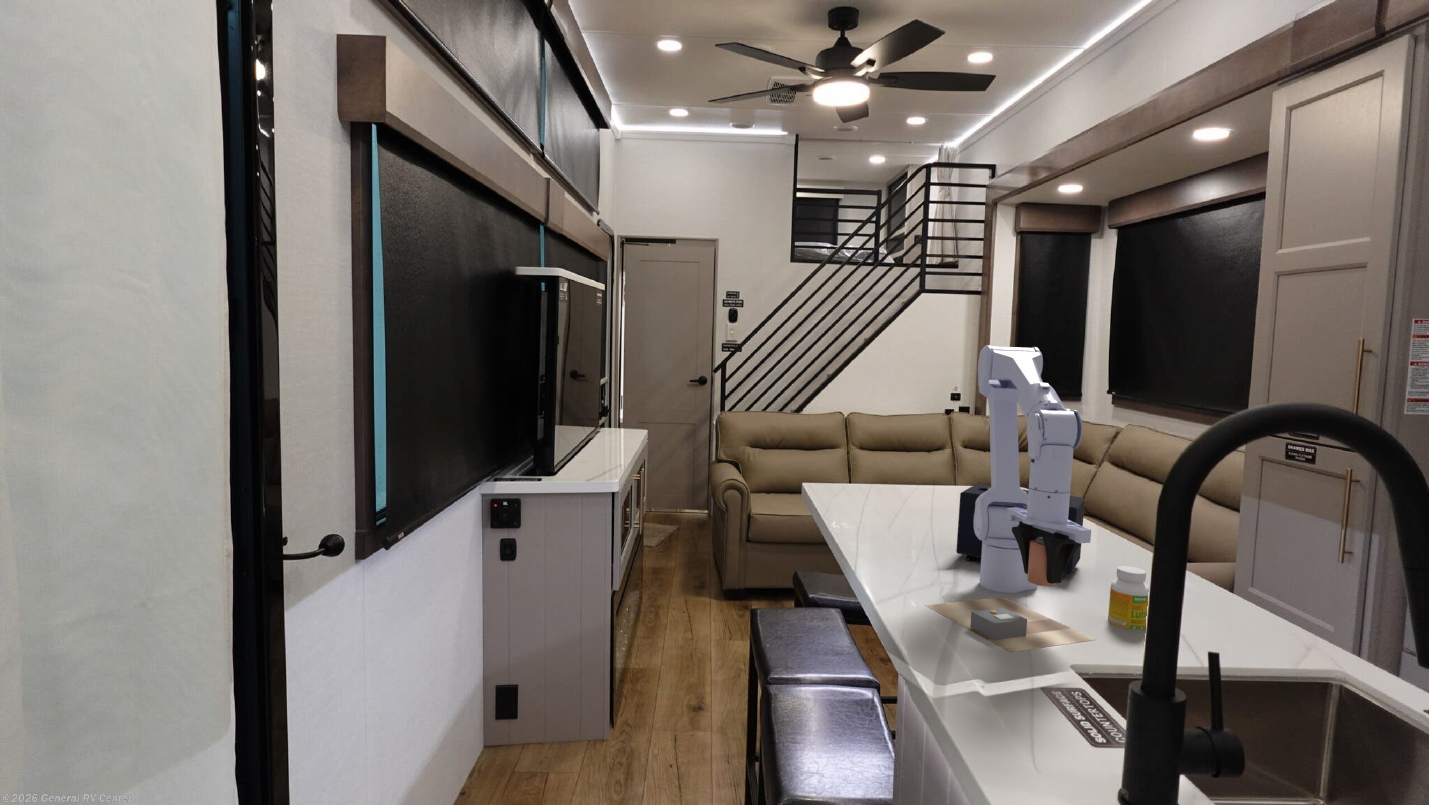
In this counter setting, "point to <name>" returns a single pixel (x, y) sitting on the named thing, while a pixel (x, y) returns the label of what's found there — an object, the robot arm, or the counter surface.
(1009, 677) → the counter surface
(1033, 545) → the peg
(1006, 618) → the block
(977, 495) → the speaker
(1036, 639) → the board
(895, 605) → the counter surface
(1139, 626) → the supplement bottle
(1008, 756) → the counter surface
